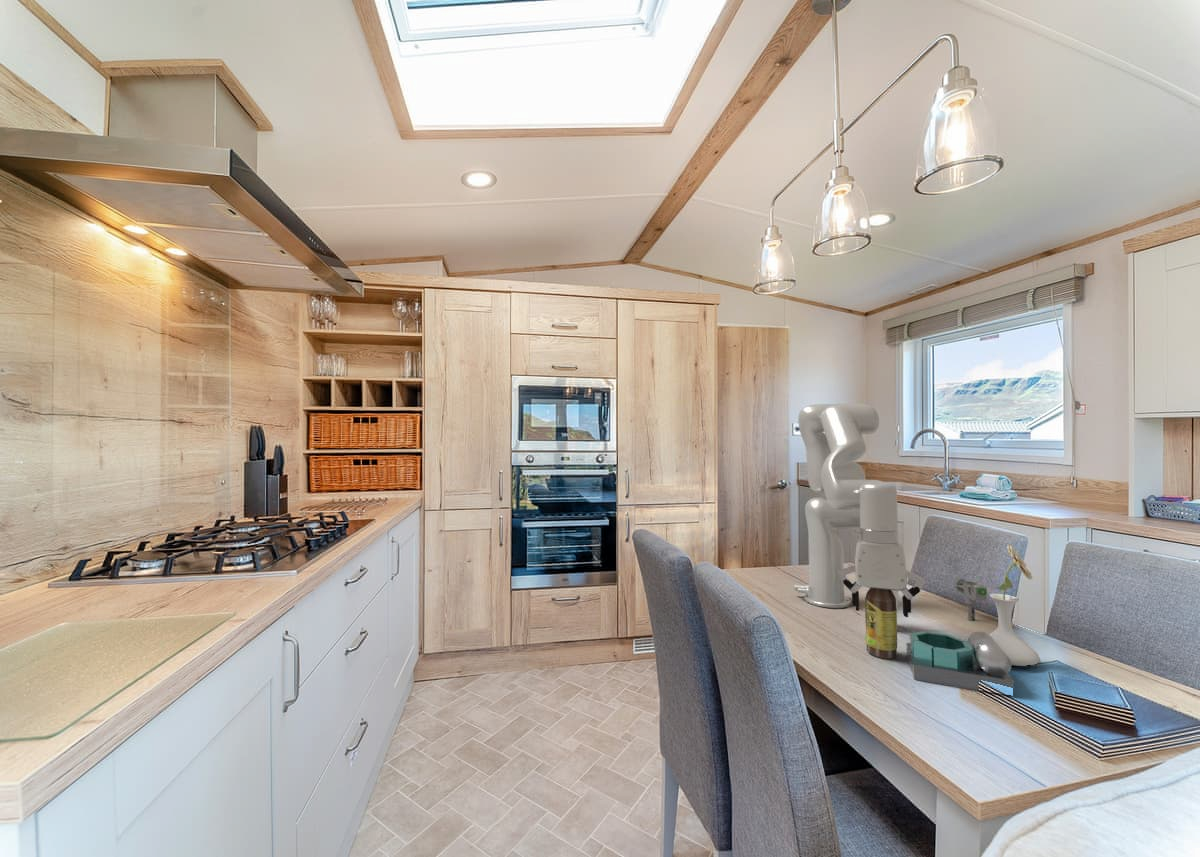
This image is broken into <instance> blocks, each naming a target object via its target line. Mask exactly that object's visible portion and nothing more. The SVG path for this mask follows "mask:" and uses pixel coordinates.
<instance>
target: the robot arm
mask: <svg viewBox="0 0 1200 857" xmlns="http://www.w3.org/2000/svg"><path fill="white" fill-rule="evenodd" d="M797 418H798V419H797V423H798V428H799V430H798V431H799V434H800V437H801V439H802V441H803V444H804V446H805V451H806V452H805V453H806V455H805V456H806V467H807V469H806V470H807V479H808V486H809V488H810V489H811V490H812V491H813V492H816V493H824V495H825V496H818V497H817V496H816V497H813V498H810V499H809V500H808V501H807V502H806V503H805V505H804V513H805V519H806V520H805V521H806V525H807V531H808V534H807V535H808V560H809V563H808V564H809V565H808V568H809V570H808V571H809V582H808V584H805V585H803V584H802V585H801V584H798V583H797V584H796V583H794V585H793V589H794V591H796V592H797V593H801V594H804V600H805V602H807V603H808V602H809V604H811V605H814V606H817V607H821V608H829V609H842V608H848V607H850V606H851V605H852V606H853V607H854V608H855V612H858V611H860V593H859V590H860V589H861V588H862V587H863V588H869V589H870V588H877V589H886V590H896V591H900V592H901V593H902V599H901V600H902V614H903V617H905V618H909V614H911V613H912V599H913V598H914V597H915V596H916V595H918V594H919V593H920V592H921V590H922V588H923V587H924V585H925V584H926V581H925V579H924V578H923V577H921V576H920V575H917V574H915V573H914V572H911V571H910V570H908V569H907V565H906V557H905V551H904V547H903V545H902V543H900V542H899V525H898V492H897V487H896V486H895V485H894V484H892V483H886V482H884V481H882V480H878V479H877V480H876V479H866V474H865V471H864V469H863V467H862V465H860V464H859V463H857V462H855V461H857V460H859V459H861V458H862V457H863V456H864V455H865V453H866V451H867V445H866V443H865V441H864V437H863V435H872V434H874V433H876V432H877V430H878V429H879V427H880V426H879V425H880V417H879V413H878V412H877V410H876V409H875V408H874V406H872V405H871V404H866V403H864V404H863V403H817V404H810V405H809V404H808V405H806V406H803V407H801V409H800V410H799V413H798V417H797ZM834 530H853V537H857V538H859V539H860V540H857V542H856V547H855V556H854V564H852V565H850V566H848V567H845V562H844V561H845V560H844V559H845V558H844V557H845V556H844V545H843V544H844V543H843V541H842V540H841V538H840V537H839V536H838V534H836V532H835V531H834ZM852 573H854V578H855V581H854V582H853V583H852V581H850V580H849V579H848V577H847V575H849V574H852ZM908 579H910V580H911V581H914V582H915V584H914V585H913V586H912V587H911V588H907V585H908ZM845 587H846V588H847V589H849V591H850V592H851V599H849V598H848V597H847V596H845Z"/></svg>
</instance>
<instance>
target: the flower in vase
mask: <svg viewBox="0 0 1200 857" xmlns="http://www.w3.org/2000/svg"><path fill="white" fill-rule="evenodd" d="M1006 549H1007V551H1008V553H1009V555H1010V557H1011V559H1012V563H1011V565H1010V566H1009V568H1008V569H1007V570H1006V572H1005V574H1004V578H1003V583H1002V584H1001V585H1000V586H998V587H997V588H996V589H997V590H1001V591H1002V593H990V594H989V597H990V598H991V599H992V600H993V602H994V605H995V607H996V611H997V616H998V617H997V622H998V624H997V627H996V629H995V630H994V631H992V632H990V633H988V634H989V635H990V636H991V637H992V638H993V639H994V640H995V641H996V643H997V644H998V645H999V646H1000V648H1001V649H1002V650H1003V651H1004V653H1005V654H1006V655H1007V657H1008V658H1009V659H1010V661H1011V666H1017V667H1028V666H1027V665H1031V666H1036V665H1037V664H1038V663H1040V661H1041V658H1040V655H1039V654H1038V653H1037V651H1036V650H1034V648H1033V647H1031V646H1030V645H1029V644H1028V643H1026V642H1025V641H1024V640H1022V639H1021V638H1020V637H1019V636H1018V635H1017V634H1016V633H1015V632H1014V630H1013V626H1012V614H1013V613H1012V612H1013V610H1014V609H1013V608H1014V607H1015V605H1016V603H1017V602H1019V600H1020V599H1019V598H1018V597H1016V596H1013V595H1009V594H1006V591H1007V590H1010V589H1013V588H1014V585H1013V583H1012V581H1011V579H1010V578H1009V577H1008V576H1009V573H1010V571H1011V570H1012V568H1013V567H1014V566H1015V567H1018V569H1019V570H1020V572H1021V573H1022V574H1023V576H1025V577H1026V578H1027V579H1028V580H1033V577H1032V576H1033V574H1032V572H1030V570H1029V569H1028V568H1026V567H1027V565H1026V563H1025V561H1022V560H1021V557H1020V555H1019V553H1018V552H1017V551H1015V549H1014V547H1013V545H1009V544H1007V546H1006ZM1035 664H1036V665H1035Z"/></svg>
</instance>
